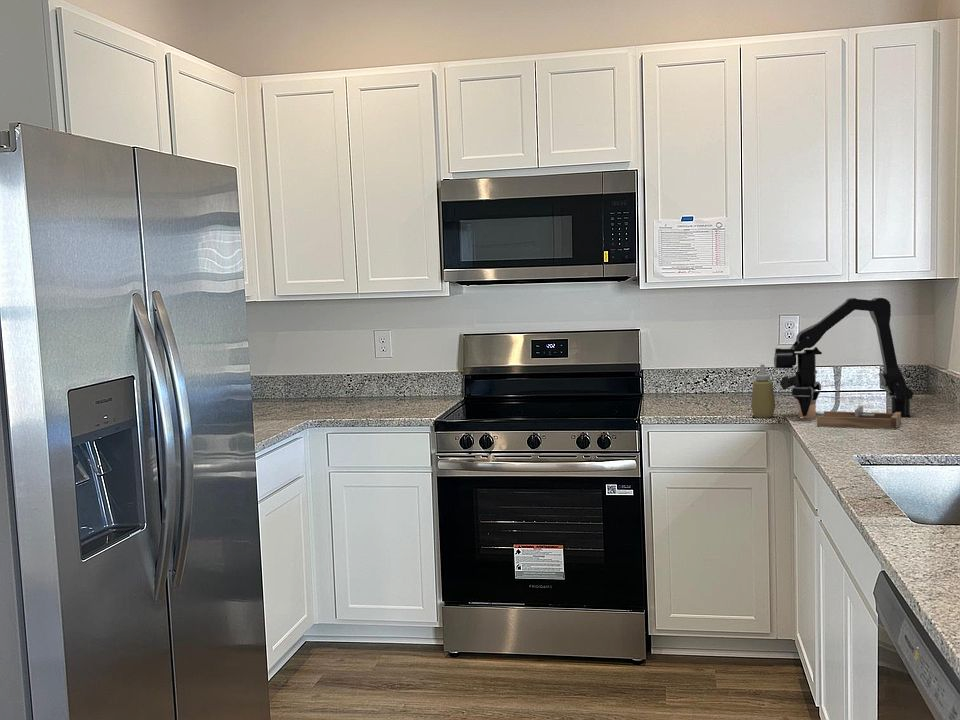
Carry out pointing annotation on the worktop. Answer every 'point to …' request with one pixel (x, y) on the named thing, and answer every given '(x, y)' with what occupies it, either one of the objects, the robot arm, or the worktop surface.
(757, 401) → the squeeze bottle
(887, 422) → the tray
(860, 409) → the pusher
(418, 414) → the worktop surface
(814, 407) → the jar
